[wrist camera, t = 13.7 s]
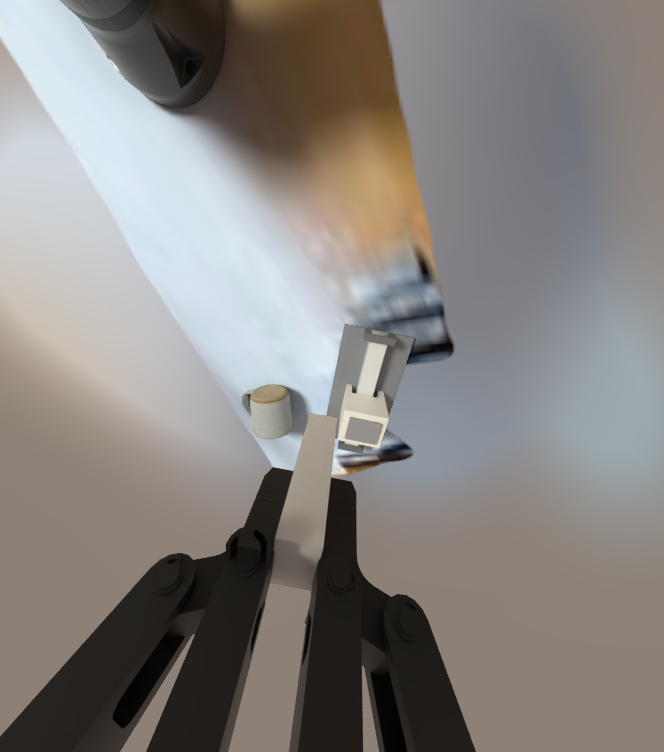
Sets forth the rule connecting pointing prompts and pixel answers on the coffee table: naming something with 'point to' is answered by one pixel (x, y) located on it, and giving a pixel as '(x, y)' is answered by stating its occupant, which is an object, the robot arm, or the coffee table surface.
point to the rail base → (355, 364)
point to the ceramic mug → (269, 411)
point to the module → (363, 418)
